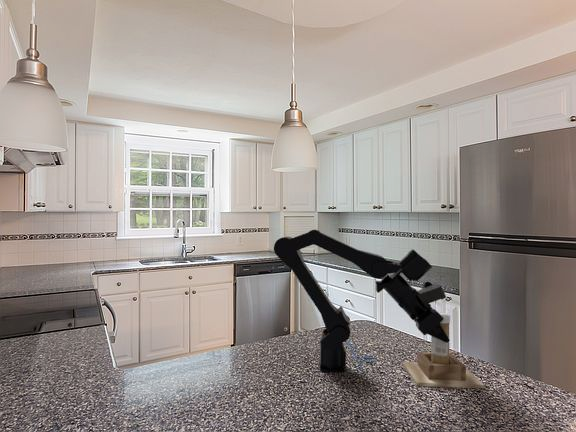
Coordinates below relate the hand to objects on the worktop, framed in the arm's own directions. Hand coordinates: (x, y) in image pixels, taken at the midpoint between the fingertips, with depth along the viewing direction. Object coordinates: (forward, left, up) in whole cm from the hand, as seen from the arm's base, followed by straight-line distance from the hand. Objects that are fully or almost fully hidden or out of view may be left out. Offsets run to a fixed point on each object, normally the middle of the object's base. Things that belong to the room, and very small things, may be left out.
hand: (445, 338), depth 94 cm
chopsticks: (-19, +11, -10) cm, 25 cm away
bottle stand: (-1, 0, -10) cm, 10 cm away
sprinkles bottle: (-1, 0, -7) cm, 8 cm away
